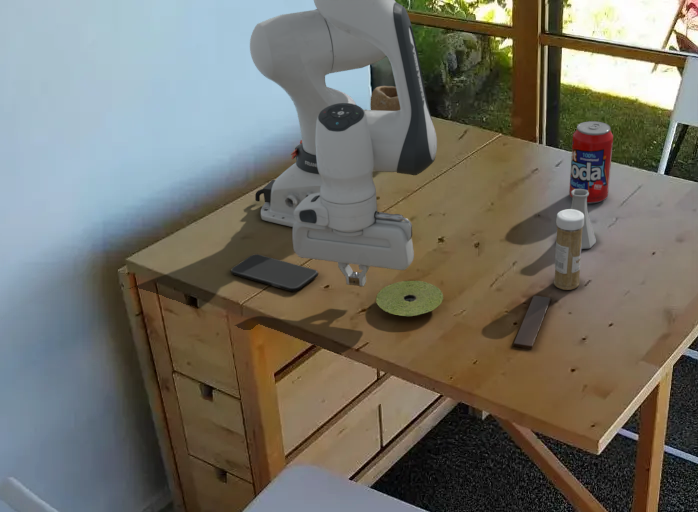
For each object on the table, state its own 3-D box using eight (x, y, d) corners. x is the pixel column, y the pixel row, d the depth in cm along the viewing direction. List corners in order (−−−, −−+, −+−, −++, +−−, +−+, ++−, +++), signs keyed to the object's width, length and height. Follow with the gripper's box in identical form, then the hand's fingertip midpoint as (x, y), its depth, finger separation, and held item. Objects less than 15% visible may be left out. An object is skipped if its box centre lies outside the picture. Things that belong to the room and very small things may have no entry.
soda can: (614, 195, 191) (620, 124, 182) (597, 209, 186) (603, 137, 177) (579, 186, 195) (584, 116, 186) (562, 200, 189) (566, 129, 181)
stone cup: (430, 151, 211) (428, 85, 202) (402, 170, 203) (399, 103, 194) (374, 139, 217) (370, 75, 208) (345, 157, 209) (339, 91, 200)
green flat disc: (432, 329, 152) (432, 319, 151) (367, 320, 154) (366, 310, 153) (451, 294, 161) (451, 284, 160) (389, 286, 163) (388, 276, 162)
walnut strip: (513, 346, 148) (513, 343, 147) (533, 298, 159) (533, 295, 159) (532, 349, 147) (532, 345, 147) (551, 300, 158) (551, 297, 158)
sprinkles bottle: (583, 289, 161) (588, 218, 153) (557, 292, 161) (561, 221, 153) (574, 276, 165) (579, 206, 157) (549, 279, 164) (553, 209, 156)
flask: (594, 252, 172) (598, 202, 166) (555, 249, 173) (557, 199, 167) (597, 234, 178) (601, 185, 172) (559, 231, 179) (562, 182, 173)
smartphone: (254, 252, 172) (320, 270, 166) (255, 257, 173) (321, 275, 166) (227, 270, 167) (294, 289, 161) (228, 274, 167) (295, 294, 161)
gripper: (417, 207, 150) (420, 282, 158) (299, 194, 155) (308, 268, 163) (405, 224, 145) (409, 301, 153) (283, 210, 150) (293, 285, 158)
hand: (356, 284), depth 158 cm, fingers closed
